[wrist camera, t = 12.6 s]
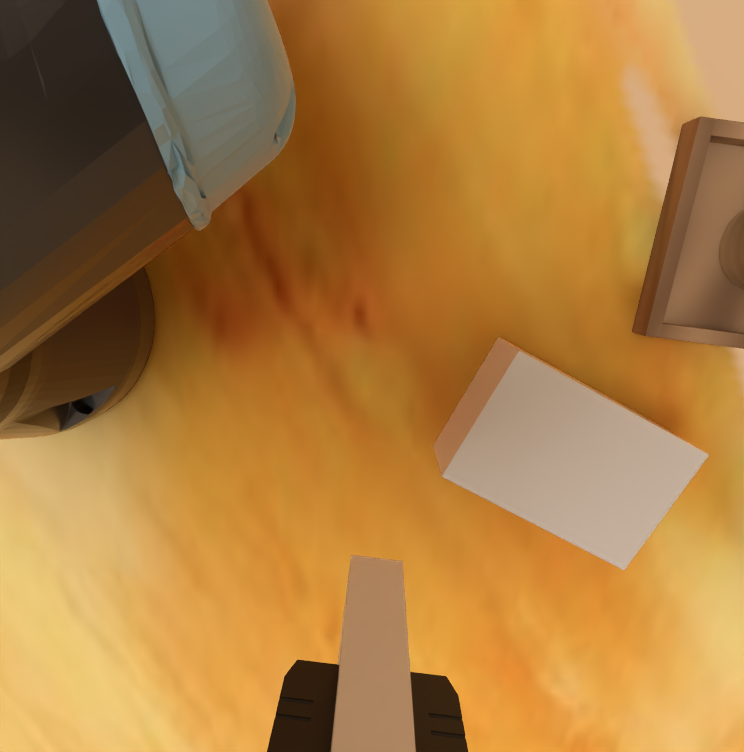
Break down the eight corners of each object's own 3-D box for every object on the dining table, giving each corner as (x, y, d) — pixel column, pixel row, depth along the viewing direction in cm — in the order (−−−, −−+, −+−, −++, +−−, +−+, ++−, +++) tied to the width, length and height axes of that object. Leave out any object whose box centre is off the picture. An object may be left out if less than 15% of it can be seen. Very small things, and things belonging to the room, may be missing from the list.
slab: (432, 444, 33) (441, 476, 28) (497, 335, 31) (519, 350, 27) (589, 525, 34) (624, 570, 29) (659, 425, 33) (709, 454, 28)
